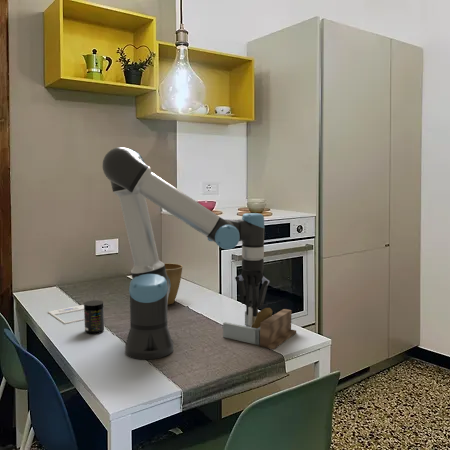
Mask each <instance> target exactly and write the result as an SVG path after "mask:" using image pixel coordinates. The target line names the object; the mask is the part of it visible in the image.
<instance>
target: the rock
mask: <svg viewBox="0 0 450 450" xmlns="http://www.w3.org/2000/svg"><path fill="white" fill-rule="evenodd" d="M271 316H273V310H272V308H271V307H264V308H263V309H261V310H260V311H258V313H257V317H256V319H255V322H254V324H253V325H252V326H251V327H252V328H256V329H257V328H259V327H260V323H261V322H262V321H264V320H266V319H267V318H269V317H271Z"/></svg>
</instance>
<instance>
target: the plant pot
mask: <svg viewBox="0 0 450 450" xmlns="http://www.w3.org/2000/svg"><path fill="white" fill-rule="evenodd" d="M163 263H164V264H165V268H166V273H167V276H168V278H169V280H170V285H171V287H170V293H169V296H168V303H167V306H168V305H172V304H174V303H175V300H176V298H177V295H178V291H179V289H180V286H181V280H182V274H183V265H182V264H179V263H171V262H169V263H167V262H166V263H165V262H163Z"/></svg>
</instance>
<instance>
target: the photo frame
mask: <svg viewBox="0 0 450 450" xmlns="http://www.w3.org/2000/svg"><path fill="white" fill-rule="evenodd" d="M81 311H84V304H81V305H80V304H79V305H76V306H75V305H74V306H70V307H65V308H60V309H55V310H49V311H47V314H48V315H50V316H51V317H54V318H55V319H56V320H58V321H59V322H61V323H62V324H63V325H67V324H73V323H77V322H82V321H84V318H79V319H74V320H70V321H65V320H63V319H62V318H60V317H59V315H65V314H70V313H76V312H81Z"/></svg>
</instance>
